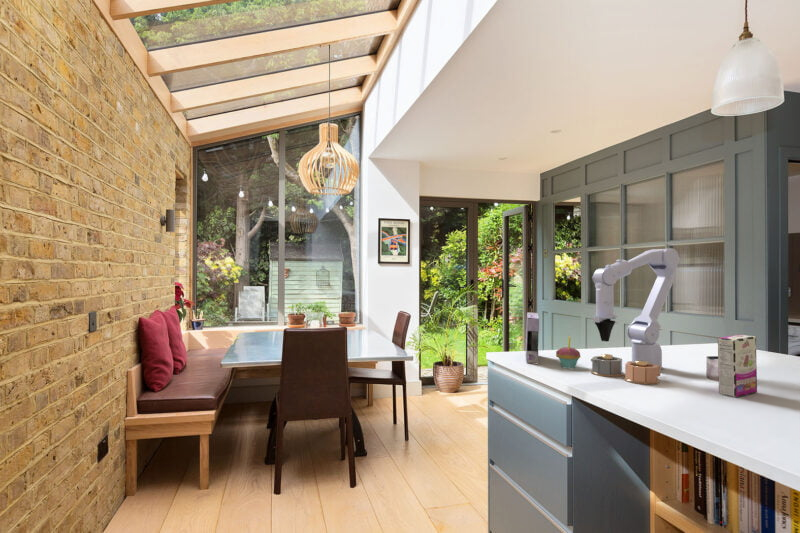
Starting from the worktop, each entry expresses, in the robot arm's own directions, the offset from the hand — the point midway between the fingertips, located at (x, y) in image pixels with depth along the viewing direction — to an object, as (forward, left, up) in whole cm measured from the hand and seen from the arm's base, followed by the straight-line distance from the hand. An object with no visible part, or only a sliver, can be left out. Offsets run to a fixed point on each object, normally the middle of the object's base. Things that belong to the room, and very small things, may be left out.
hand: (605, 341), depth 175 cm
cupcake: (+9, -9, -11) cm, 16 cm away
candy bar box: (-18, +36, -11) cm, 42 cm away
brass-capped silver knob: (+2, +4, -9) cm, 11 cm away
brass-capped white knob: (-2, +16, -9) cm, 19 cm away
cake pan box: (+15, -25, -11) cm, 31 cm away
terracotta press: (-2, +16, -10) cm, 19 cm away
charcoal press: (+2, +4, -10) cm, 11 cm away
